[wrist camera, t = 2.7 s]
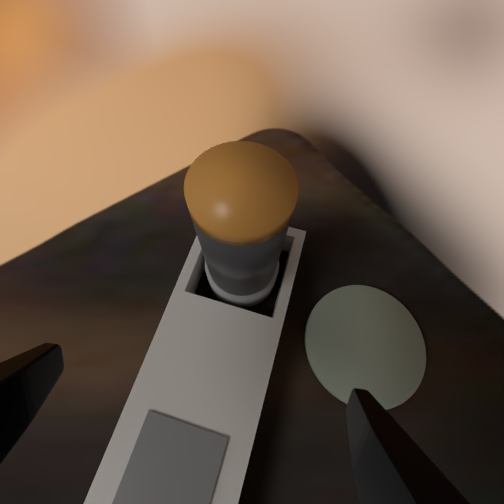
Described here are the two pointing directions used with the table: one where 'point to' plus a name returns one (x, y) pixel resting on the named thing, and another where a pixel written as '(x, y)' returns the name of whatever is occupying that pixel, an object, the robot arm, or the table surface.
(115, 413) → the table surface
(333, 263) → the table surface
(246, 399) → the power strip
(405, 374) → the rubber mat
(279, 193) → the plug
